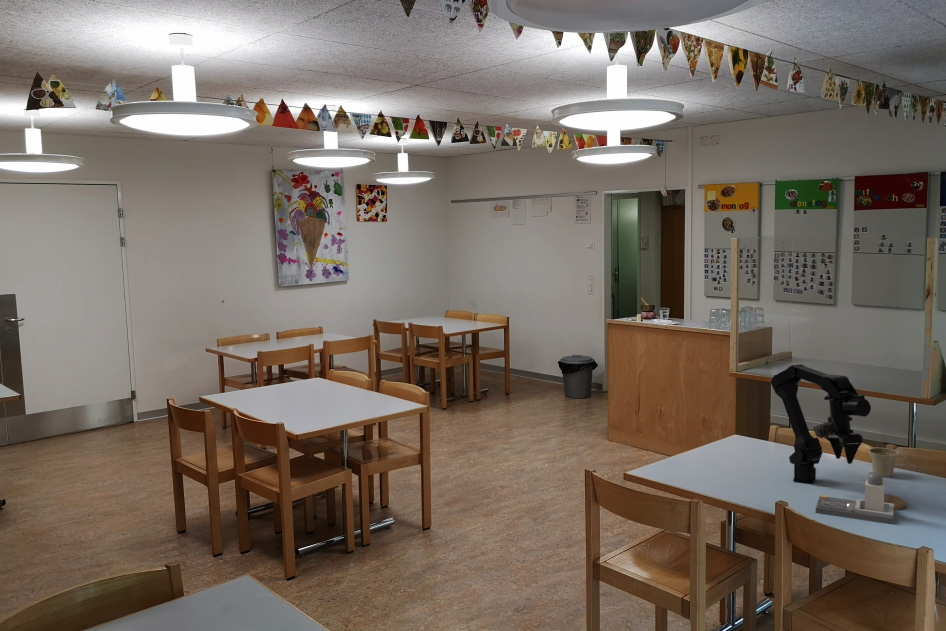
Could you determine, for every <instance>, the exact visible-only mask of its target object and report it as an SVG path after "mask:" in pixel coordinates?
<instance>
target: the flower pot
mask: <svg viewBox="0 0 946 631" xmlns="http://www.w3.org/2000/svg"><path fill="white" fill-rule="evenodd" d="M868 452H869V455H870V458H871V465H872V466H871V468H872V472H877V473H881V474H882V475H883V477H885V478H892V477H893V476H894V470H895V465H896V462H897V461H896V460H897V457H898V456H899V454H900V453H899V452H898V451H897V450H895V449H891V448H887V447H886V448H885V447H872V448H871V447H870V448H869V449H868ZM891 476H892V477H891Z"/></svg>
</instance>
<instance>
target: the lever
mask: <svg viewBox="0 0 946 631" xmlns="http://www.w3.org/2000/svg"><path fill="white" fill-rule="evenodd" d="M817 503H818V506H821V504H827V505H834V506H841V507H847V511H848V512H853V503H847V504H844V503H837V502H829V501H822V500H819V499H818V501H817Z"/></svg>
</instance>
